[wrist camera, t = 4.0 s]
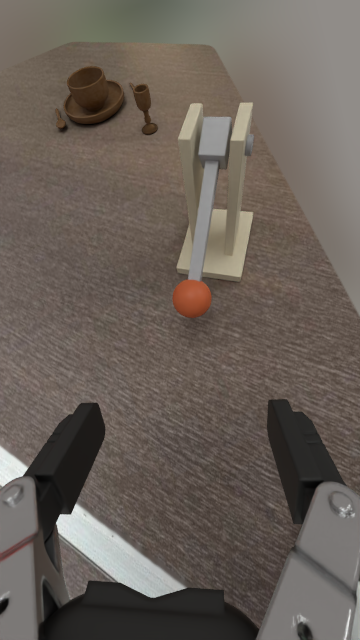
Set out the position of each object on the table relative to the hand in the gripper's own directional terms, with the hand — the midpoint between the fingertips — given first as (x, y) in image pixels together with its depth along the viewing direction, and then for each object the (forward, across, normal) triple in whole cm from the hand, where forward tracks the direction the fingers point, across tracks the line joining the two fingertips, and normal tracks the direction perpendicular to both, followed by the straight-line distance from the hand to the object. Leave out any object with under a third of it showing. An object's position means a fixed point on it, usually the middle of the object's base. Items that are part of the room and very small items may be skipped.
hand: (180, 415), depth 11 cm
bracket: (+25, -3, -5) cm, 26 cm away
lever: (+16, -2, -7) cm, 18 cm away
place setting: (+48, +16, -27) cm, 58 cm away
